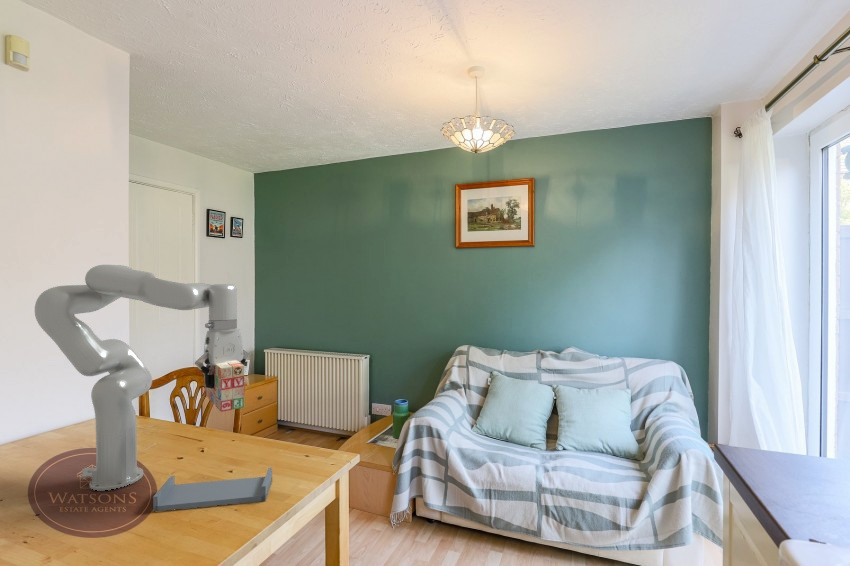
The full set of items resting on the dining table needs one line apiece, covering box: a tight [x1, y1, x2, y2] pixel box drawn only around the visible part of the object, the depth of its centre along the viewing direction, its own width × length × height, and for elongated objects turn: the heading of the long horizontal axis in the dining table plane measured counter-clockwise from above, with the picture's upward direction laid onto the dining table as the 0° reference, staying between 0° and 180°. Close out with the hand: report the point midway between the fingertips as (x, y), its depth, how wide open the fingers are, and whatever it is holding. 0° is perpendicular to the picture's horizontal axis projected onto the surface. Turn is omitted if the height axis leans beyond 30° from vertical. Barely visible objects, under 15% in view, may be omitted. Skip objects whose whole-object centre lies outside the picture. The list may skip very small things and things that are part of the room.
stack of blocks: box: [203, 360, 245, 413], centre depth 123 cm, size 21×6×12 cm, turn 39°
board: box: [152, 467, 273, 513], centre depth 113 cm, size 27×11×4 cm, turn 102°
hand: (223, 384), depth 123 cm, fingers closed on stack of blocks, 7 cm apart
